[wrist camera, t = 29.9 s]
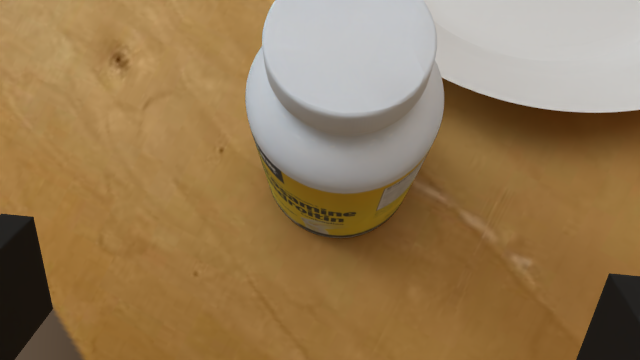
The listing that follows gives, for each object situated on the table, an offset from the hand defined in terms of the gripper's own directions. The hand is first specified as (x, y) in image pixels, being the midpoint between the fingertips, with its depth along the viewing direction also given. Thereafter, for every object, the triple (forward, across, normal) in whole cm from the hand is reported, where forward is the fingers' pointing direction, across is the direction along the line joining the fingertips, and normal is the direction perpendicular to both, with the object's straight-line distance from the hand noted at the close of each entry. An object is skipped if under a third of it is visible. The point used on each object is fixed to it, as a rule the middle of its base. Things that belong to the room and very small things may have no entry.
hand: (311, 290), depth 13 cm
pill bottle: (+13, 0, -4) cm, 13 cm away
